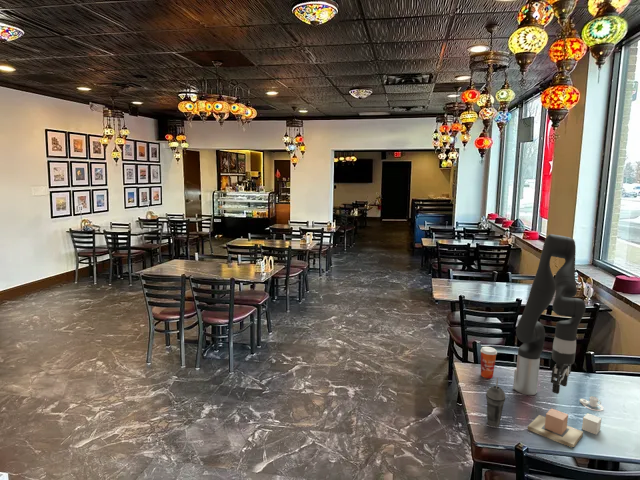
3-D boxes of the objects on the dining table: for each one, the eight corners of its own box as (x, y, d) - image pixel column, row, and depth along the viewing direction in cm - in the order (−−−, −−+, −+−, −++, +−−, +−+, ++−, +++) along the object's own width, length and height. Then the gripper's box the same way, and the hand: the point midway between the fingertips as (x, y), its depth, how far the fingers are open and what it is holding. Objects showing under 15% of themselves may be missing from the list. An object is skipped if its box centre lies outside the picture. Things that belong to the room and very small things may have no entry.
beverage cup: (502, 420, 174) (506, 374, 171) (503, 430, 167) (508, 382, 164) (483, 416, 176) (487, 371, 173) (483, 426, 170) (487, 378, 167)
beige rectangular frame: (527, 429, 168) (528, 425, 168) (539, 418, 176) (539, 414, 176) (572, 448, 157) (573, 444, 156) (582, 435, 165) (583, 431, 165)
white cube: (581, 429, 169) (583, 417, 168) (585, 424, 172) (587, 413, 172) (596, 435, 165) (597, 423, 165) (600, 430, 169) (601, 418, 168)
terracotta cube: (544, 428, 166) (546, 413, 166) (550, 422, 170) (551, 408, 170) (561, 435, 162) (563, 420, 161) (566, 428, 166) (568, 414, 165)
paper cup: (480, 378, 210) (482, 351, 208) (477, 371, 218) (479, 345, 216) (497, 380, 209) (499, 352, 207) (493, 373, 217) (495, 346, 215)
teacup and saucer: (576, 403, 190) (577, 394, 189) (588, 400, 193) (589, 391, 192) (595, 413, 182) (596, 404, 181) (608, 409, 185) (609, 400, 184)
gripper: (559, 341, 169) (555, 379, 172) (546, 350, 159) (542, 391, 162) (581, 347, 164) (576, 386, 166) (568, 357, 154) (563, 399, 156)
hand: (559, 389), depth 164 cm, fingers open, 8 cm apart
